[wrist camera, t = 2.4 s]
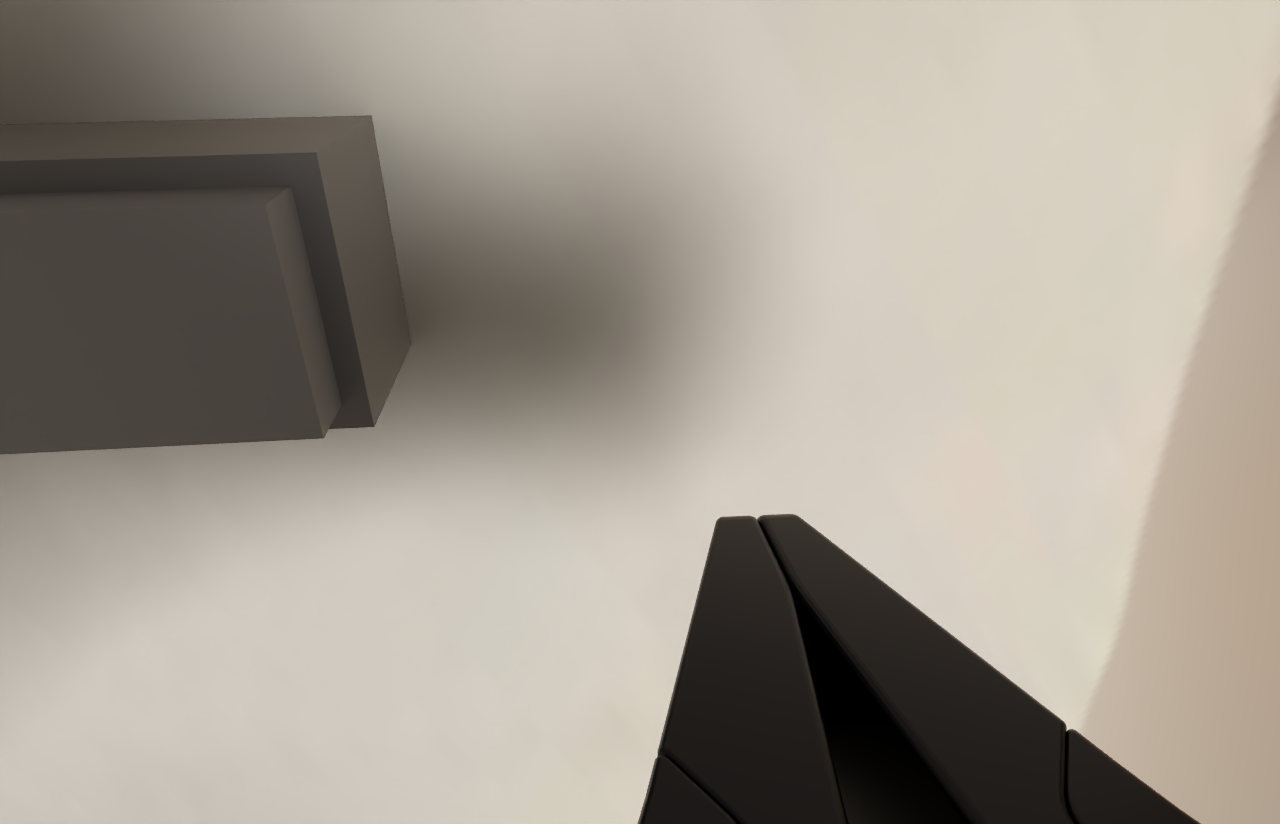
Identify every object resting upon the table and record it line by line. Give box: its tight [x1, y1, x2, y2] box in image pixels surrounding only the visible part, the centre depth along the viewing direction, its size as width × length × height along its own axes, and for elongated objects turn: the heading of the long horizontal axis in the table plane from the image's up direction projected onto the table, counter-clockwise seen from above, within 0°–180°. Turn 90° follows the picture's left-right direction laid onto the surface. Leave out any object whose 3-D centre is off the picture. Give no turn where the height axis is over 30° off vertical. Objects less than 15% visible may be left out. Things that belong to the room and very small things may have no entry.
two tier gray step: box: [0, 116, 411, 454], centre depth 14 cm, size 5×9×5 cm, turn 91°
